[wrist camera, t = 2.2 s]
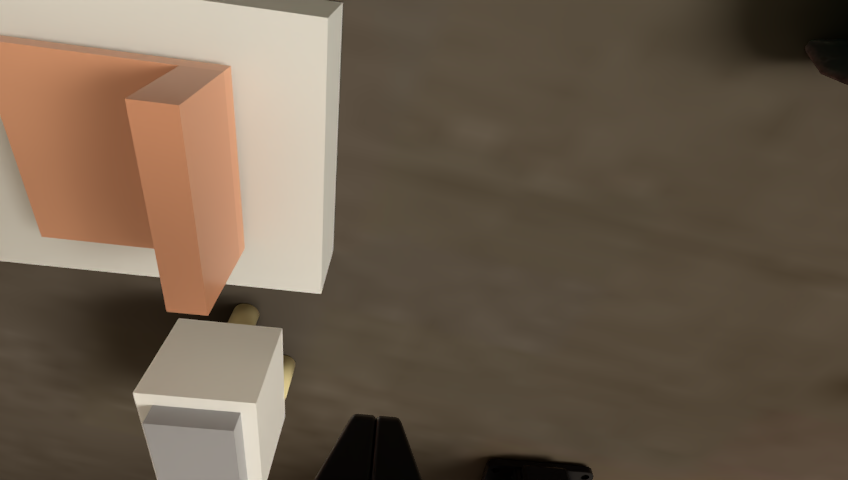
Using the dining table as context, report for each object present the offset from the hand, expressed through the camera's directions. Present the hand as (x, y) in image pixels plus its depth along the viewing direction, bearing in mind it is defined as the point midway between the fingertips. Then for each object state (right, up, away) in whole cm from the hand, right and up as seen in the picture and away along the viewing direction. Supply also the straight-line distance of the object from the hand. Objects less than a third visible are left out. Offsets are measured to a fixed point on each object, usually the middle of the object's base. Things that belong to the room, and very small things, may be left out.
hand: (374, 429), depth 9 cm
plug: (-8, -2, +16) cm, 18 cm away
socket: (-8, +8, +10) cm, 15 cm away
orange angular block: (-8, +6, +7) cm, 13 cm away
